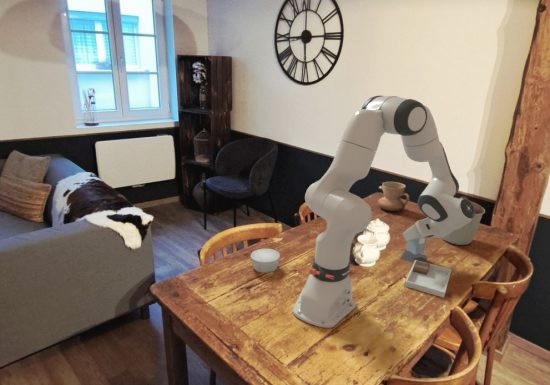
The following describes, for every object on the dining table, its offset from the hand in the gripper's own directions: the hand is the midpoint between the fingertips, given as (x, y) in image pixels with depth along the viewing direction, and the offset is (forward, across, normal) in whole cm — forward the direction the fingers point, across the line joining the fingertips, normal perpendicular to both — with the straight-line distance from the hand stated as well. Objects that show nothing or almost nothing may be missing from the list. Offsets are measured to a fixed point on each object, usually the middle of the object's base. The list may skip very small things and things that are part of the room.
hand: (415, 238), depth 151 cm
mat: (+6, 0, +7) cm, 9 cm away
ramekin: (+16, +60, -4) cm, 63 cm away
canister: (+11, -31, +2) cm, 33 cm away
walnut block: (-1, +5, +13) cm, 14 cm away
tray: (-5, +7, +18) cm, 20 cm away
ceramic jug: (+41, -28, -27) cm, 57 cm away
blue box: (+4, 0, +4) cm, 6 cm away
